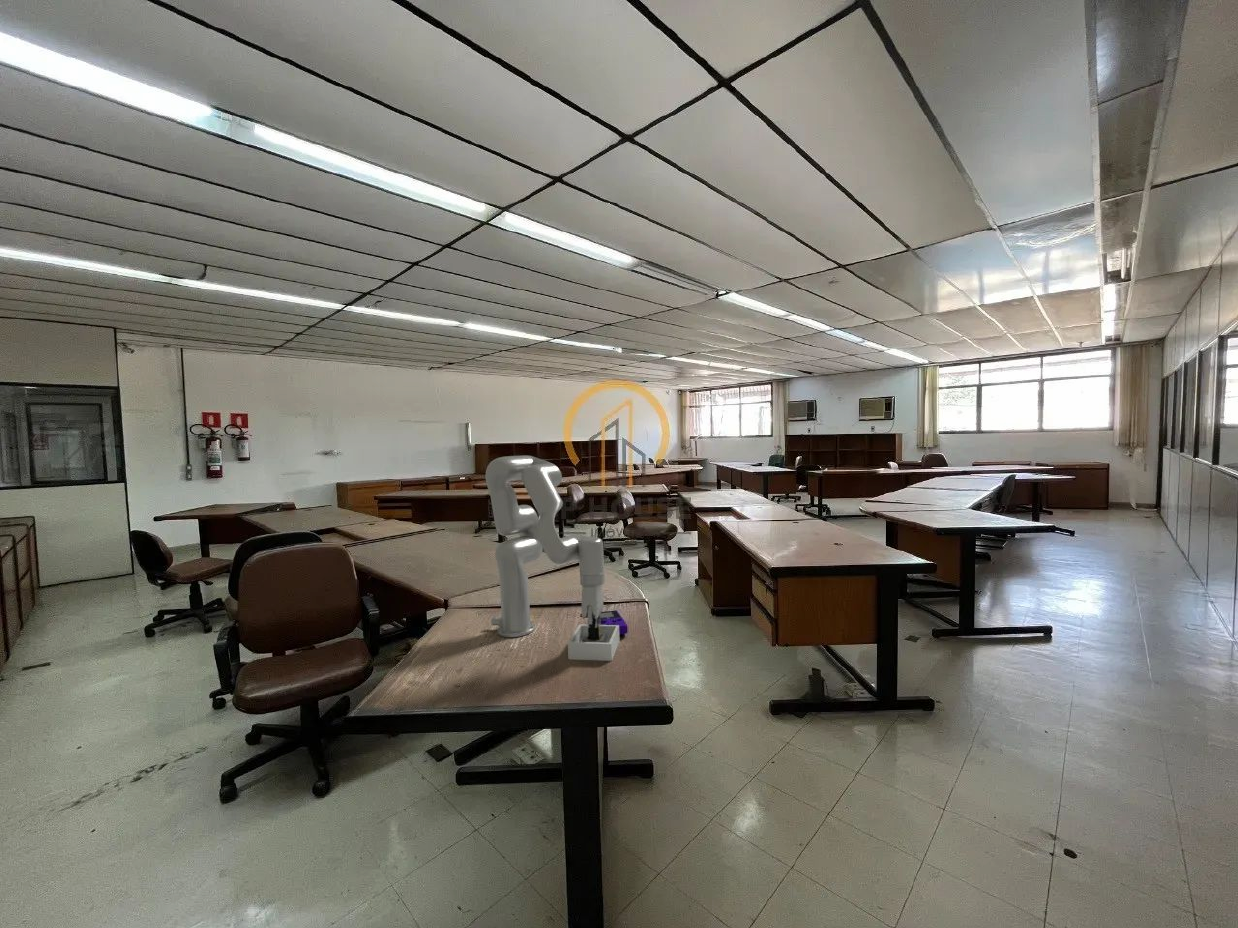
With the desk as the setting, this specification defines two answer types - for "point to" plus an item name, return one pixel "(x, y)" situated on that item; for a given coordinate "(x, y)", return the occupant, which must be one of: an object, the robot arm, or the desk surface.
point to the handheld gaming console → (614, 620)
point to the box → (594, 644)
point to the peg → (599, 626)
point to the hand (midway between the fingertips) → (595, 637)
